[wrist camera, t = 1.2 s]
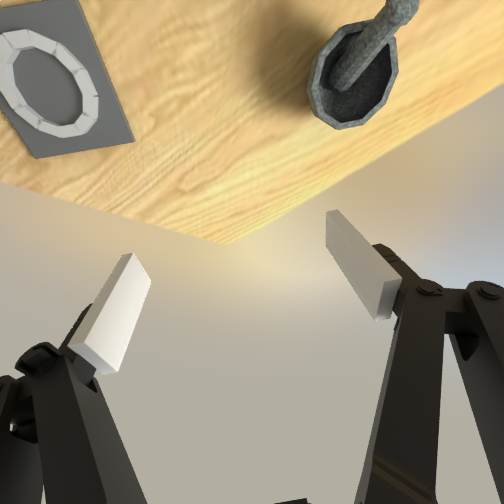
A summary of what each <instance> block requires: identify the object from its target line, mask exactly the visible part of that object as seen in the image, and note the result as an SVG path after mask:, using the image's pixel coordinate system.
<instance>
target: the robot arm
mask: <svg viewBox="0 0 504 504" xmlns="http://www.w3.org/2000/svg"><path fill="white" fill-rule="evenodd" d="M326 247H327V249H328V250H329V251H330V253H331V255H332V256H333V257H334V259H335V261H336V262H337V264H338V265H339V267H340V269H341V270H342V272H343V273H344V275H345V276H346V278H347V279H348V281H349V282H350V284H351V285H352V287H353V289H354V290H355V292H356V293H357V295H358V296H359V298H360V300H361V301H362V302H363V304H364V306H365V307H366V309H367V310H368V312H369V313H370V315H371V316H372V318H373V320H374V321H379V320H384V319H389V318H390V317H391V314H392V311H393V312H394V313H395V314H396V316H397V317H398V318H397V321H396V324H395V327H394V334H393V339H392V343H391V348H390V352H389V357H388V361H387V366H386V370H385V374H384V378H383V383H382V387H381V392H380V396H379V400H378V405H377V409H376V414H375V418H374V423H373V427H372V431H371V436H370V440H369V445H368V449H367V454H366V458H365V462H364V467H363V471H362V475H361V479H360V482H359V486H358V489H357V493H356V498H355V502H354V504H438V502H437V500H436V494H435V485H436V468H437V451H438V450H437V449H438V434H439V417H440V399H441V381H442V365H443V347H444V334H449V337H450V340H451V344H452V347H453V350H454V353H455V356H456V360H457V363H458V366H459V369H460V373H461V376H462V379H463V382H464V385H465V389H466V392H467V395H468V398H469V402H470V405H471V408H472V411H473V414H474V418H475V421H476V424H477V427H478V430H479V434H480V437H481V440H482V443H483V446H484V450H485V453H486V456H487V459H488V463H489V465H490V469H491V472H492V476H493V479H494V481H495V485H496V488H497V492H498V495H499V498H500V501H501V504H504V288H503V287H501V286H499V285H496V284H494V283H491V282H486V281H474V282H471V283H469V285H468V286H467V288H466V289H451V288H443V287H442V286H441V285H439V284H438V283H436V282H434V281H431V280H427V279H421V278H420V277H419V276H418V275H417V274H416V273H415V272H414V271H413V270H412V269H411V268H410V267H409V266H408V265H407V264H406V263H405V262H404V261H402V260H401V259H400V258H399V257H398V256H397V255H396V254H395V253H394V252H393V251H392V250H391V249H390V248H388V247H386V246H384V245H382V244H376V245H371V244H370V243H369V242H368V241H367V240H366V239H365V238H364V237H363V236H362V235H361V234H360V233H359V232H358V231H357V229H355V227H354V226H353V225H352V224H351V223H350V222H349V221H348V220H347V219H346V218H345V217H344V216H343V215H342V214H341V212H340V211H338V210H333V211H329V212H326ZM150 285H151V280H150V278H149V277H148V275H147V273H146V272H145V270H144V269H143V267H142V265H141V264H140V263H139V261H138V259H137V258H136V256H135V254H134V253H130V254H125V255H122V257H121V258H120V260H119V262H118V263H117V265H116V266H115V268H114V270H113V271H112V273H111V275H110V276H109V278H108V280H107V281H106V283H105V284H104V286H103V288H102V289H101V291H100V293H99V294H98V296H97V298H96V299H95V301H94V303H92V304H90V305H89V306H88V307H87V308H85V310H84V311H82V313H81V315H80V316H79V318H78V319H77V321H76V322H75V324H74V325H73V328H72V329H71V330H70V332H69V333H68V335H67V336H66V338H65V340H64V341H63V343H62V344H61V346H60V347H59V349H57V348H55V347H54V346H53V345H52V344H50V343H49V342H43V343H39V344H37V345H35V346H33V347H31V348H30V349H29V350H27V351H26V352H25V353H24V354H23V355H22V356H21V357H20V358H19V360H18V361H17V363H16V365H15V369H16V370H18V371H20V372H22V373H24V374H25V376H23V377H20V378H18V379H14V378H13V377H11V376H9V375H5V376H2V377H0V504H41V499H42V492H43V484H44V491H45V498H46V504H147V502H146V499H145V497H144V494H143V492H142V489H141V487H140V484H139V482H138V480H137V477H136V475H135V472H134V470H133V467H132V465H131V462H130V460H129V458H128V455H127V452H126V450H125V448H124V445H123V443H122V440H121V438H120V436H119V433H118V430H117V428H116V425H115V423H114V421H113V418H112V416H111V413H110V411H109V408H108V406H107V403H106V401H105V398H104V396H103V393H102V391H101V389H100V387H99V384H98V381H97V380H96V378H95V377H93V375H94V373H95V371H96V369H97V370H98V371H99V372H100V373H102V374H103V375H105V374H110V373H115V372H118V370H119V367H120V364H121V362H122V359H123V356H124V354H125V351H126V349H127V346H128V343H129V341H130V338H131V335H132V332H133V330H134V327H135V325H136V322H137V319H138V317H139V314H140V311H141V309H142V306H143V303H144V301H145V298H146V295H147V293H148V290H149V287H150ZM10 423H11V424H13V430H12V431H10ZM275 504H310V503H308V502H307V498H303V499H298V500H292V501H287V502H281V503H275Z"/></svg>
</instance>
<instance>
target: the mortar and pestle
mask: <svg viewBox="0 0 504 504" xmlns="http://www.w3.org/2000/svg"><path fill="white" fill-rule="evenodd" d="M418 7H419V0H386V3H385V6H384V7H383V8H382V9H381V11H380V12H379V13H378V14H377V15H376V16H375V18H374V19H371V20H366V21H362V22H357V23H352V24H347V25H344V26H342V27H340V28H339V29H338V30H337V31H336V32H335V33H334V34H333V36H332V37H331V38H330V39H329V40H328V41H327V43H326V44H325V45H324V46H323V47H322V48H321V50H320V51H319V52H318V53H317V54H316V55H315V57H314V58H313V61H312V65H311V69H310V74H309V78H308V82H307V87H306V91H307V95H308V98H309V101H310V105H311V108H312V111H313V114H314V115H315V116H316V117H317V118H319V119H320V120H322V121H324V122H325V123H327V124H328V125H330V126H331V127H333V128H334V129H337V130H341V129H346V128H351V127H356V126H361V125H364V124H365V123H366V122H367V121H368V120H369V119H370V118H371V117H372V116H373V115H374V114H375V113H376V112H377V111H378V110H380V109H381V108H382V107H383V106H384V105H385V104H386V101H387V99H388V96H389V94H390V92H391V89H392V87H393V84H394V82H395V79H396V77H397V74H398V72H399V69H398V58H397V46H396V38H395V37H394V36H393V35H394V34H395V32H396V31H397V30H398V29H399V28H400V26H403V25H406V24H407V23H408V22H409V21H410V20H411V19H412V17H413V16H414V15H415V14H416V13H417V11H418Z"/></svg>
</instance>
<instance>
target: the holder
mask: <svg viewBox="0 0 504 504" xmlns="http://www.w3.org/2000/svg"><path fill="white" fill-rule="evenodd" d="M0 107H1V109H2V110H3V112H4V113H5V115H6V116H7V118H8V119H9V121H10V122H11V124H12V125H13V127H14V128H15V130H16V131H17V133H18V134H19V136H20V137H21V139H22V140H23V142H24V143H25V144H26V146H27V147H28V149H29V150H30V152H31V153H32V155H33V156H34V158H35V159H38V158H44V157H50V156H56V155H62V154H68V153H73V152H79V151H85V150H91V149H97V148H103V147H108V146H114V145H120V144H126V143H132V142H135V138H134V136H133V134H132V131H131V129H130V126H129V124H128V121H127V119H126V116H125V114H124V111H123V109H122V106H121V104H120V101H119V99H118V96H117V94H116V92H115V89H114V87H113V84H112V82H111V79H110V77H109V74H108V72H107V69H106V67H105V64H104V62H103V59H102V57H101V54H100V52H99V50H98V47H97V45H96V42H95V40H94V37H93V35H92V32H91V30H90V27H89V25H88V22H87V20H86V17H85V15H84V13H83V10H82V8H81V5H80V3H79V0H48V1H42V2H36V3H30V4H24V5H18V6H13V7H7V8H1V9H0Z"/></svg>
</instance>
